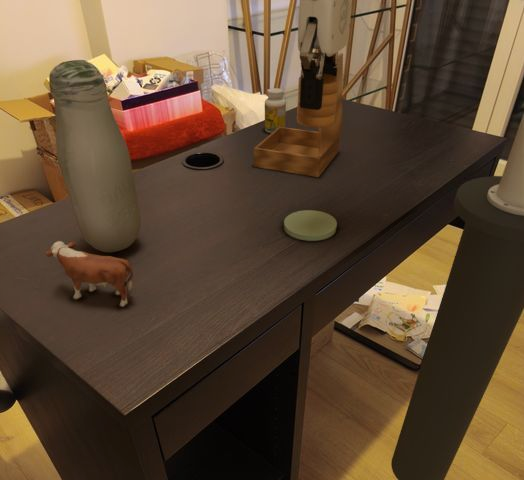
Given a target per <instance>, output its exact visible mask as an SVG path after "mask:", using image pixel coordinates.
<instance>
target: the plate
mask: <svg viewBox="0 0 524 480" xmlns="http://www.w3.org/2000/svg"><path fill="white" fill-rule="evenodd" d="M337 228H338V222H337V220H336V218H335V217H334V216H332V215H331V214H329V213H327V212H324V211H320V210H312V209H304V210H298V211H295V212H292V213H289V214H288V215H287V216H286V217H285V218H284V220H283V230H284V231H285V233H286V234H287V235H288V236H290V237H292V238H294V239H296V240H301V241H308V242H315V241H323V240H327V239H329V238H331V237H332V236H334V235H335V234H336V232H337Z"/></svg>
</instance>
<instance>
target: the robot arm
mask: <svg viewBox="0 0 524 480" xmlns="http://www.w3.org/2000/svg"><path fill="white" fill-rule="evenodd" d="M352 2H353V1H352V0H299V7H298V22H297V26H298V27H297V49H298V51H299V60H300V67H301V69H300V76H301V91H300V107H301V108H306V109H314V110H319V109H321V107H322V95H323V82H324V79H321V76H322V74H330V75H334V76H336V77H337V68H335V67H337V65H338V55H339V52H340V51H341V50H342V49H344V48H345V47H346V46H347V45H348V43H349V40H350V33H351V32H350V31H351V15H352V4H353V3H352ZM314 50H317V52H313V51H314ZM316 60H317V62H316ZM501 176H502V178H501V181H500V184H498V185H495V186H493V187H491V188H490V189H489V191H488V193H487V199H488V201H489V202H490V203H491V204H492V205H493V206H495V207H496V208H498V209H500V210H502V211H505V212H508V213H511V214H515V215H521V216H524V113H523V114H522V117H521V120H520V123H519V126H518V129H517V131H516V135H515V137H514V141H513V143H512V146H511V149H510V152H509V154H508V157H507V161H506V163H505V166H504V169H503V172H502V175H501Z"/></svg>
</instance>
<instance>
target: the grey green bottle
mask: <svg viewBox="0 0 524 480" xmlns="http://www.w3.org/2000/svg"><path fill="white" fill-rule="evenodd" d="M48 81H49V82H48V84H49V91H50V94H51V96H52V100H53V105H54V106H53V107H54V114H55V115H54V116H55V145H56V146H55V147H56V157H57V162H58V165H59V168H60V172H61V175H62V178H63V183H64V184H65V188H66V192H67V195H68V198H69V201H70V204H71V207H72V210H73V213H74V217H75V220H76V223H77V226H78V228H79V231H80V233H81V235H82V237H83V239H84V240H85V241H86V243H87V244H88V245H89V246H91V247H92V248H94V249H95V250H97V251H99V252H103V253H116V252H121V251H122V250H125V249H127V248H129V247H130V246H131V245H133V244H134V242H135V241H136V240H137V238H138V236H139V234H140V230H141V223H142V222H141V213H140V207H139V202H138V197H137V196H138V195H137V192H136V185H135V184H136V183H135V179H134V172H133V167H132V160H131V155H130V152H129V148H128V146H127V143H126V140H125V138H124V136H123V133H122V131H121V128H120V126H119V124H118V121H117V120H116V118H115V115H114V114H113V110H112V107H111V104H110V100H109V95H108V89H107V84H106V81H105V79H104V76H103V75H102V73H101V71H100V70H99V68H98V67H97V66H96V65H94V64H93V63H92V62H89V61H87V60H85V59H74V60H66V61H62V62H60V63H59V64H57V65H56V66H54V67H53V68H52V70H51V71H50V73H49V76H48Z"/></svg>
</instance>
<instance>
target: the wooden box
mask: <svg viewBox="0 0 524 480" xmlns="http://www.w3.org/2000/svg"><path fill="white" fill-rule="evenodd" d="M340 139H341V134H340V135H339V137H338V138H337V139H336V140H335V141H334V142H333V144H332V145H331V146H330V147H329V148H328V149H327V151H326V152H325V153H324V154H323V155H322V156H321V157H319V138H318V131H314V130H307V129H299V128H292V127H286V126H285V127H278V128H277V129H276V130H275V131H274V132H272V133H269V134H268V135H267V136H266V137H265V138H264V139H262V141H261V142H259V143H258V144H257V145H256V146H255V147H254V148H253V167H254V168H260V169H264V170H265V169H266V170H272V171H277V172H278V171H279V172H284V173H290V174H295V175H301V176H309V177H314V178H319V177H320V176H321V175H322V174H323V172H324V171H325V170H326V169H327V167H328V166H329V165H330V164H331V162H332V161H333V160H334V159H335V157H336V156H337V155H338V154H339V150H340Z"/></svg>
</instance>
